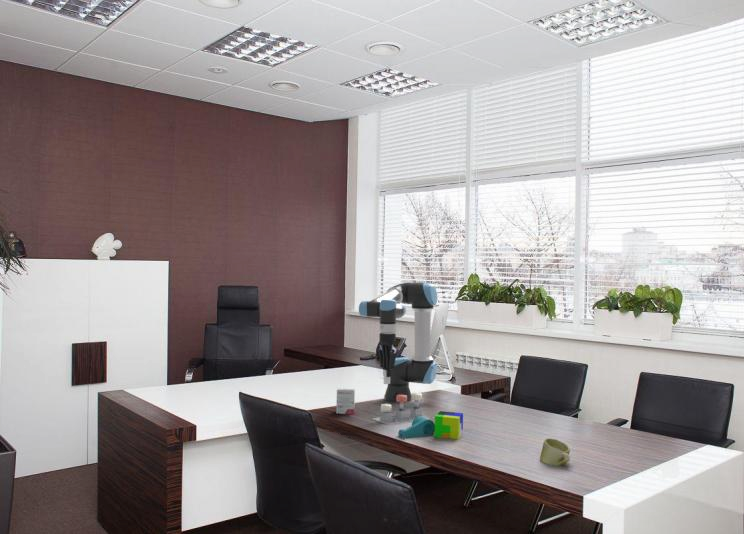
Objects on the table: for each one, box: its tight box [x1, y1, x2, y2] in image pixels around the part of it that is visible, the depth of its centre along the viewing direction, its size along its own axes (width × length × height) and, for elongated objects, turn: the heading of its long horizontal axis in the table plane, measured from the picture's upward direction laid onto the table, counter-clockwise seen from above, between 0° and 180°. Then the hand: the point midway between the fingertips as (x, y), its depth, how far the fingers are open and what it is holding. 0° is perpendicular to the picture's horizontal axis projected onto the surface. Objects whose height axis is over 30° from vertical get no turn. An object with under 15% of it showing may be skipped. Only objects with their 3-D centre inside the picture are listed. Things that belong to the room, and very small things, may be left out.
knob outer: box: [380, 403, 393, 413], centre depth 286 cm, size 5×5×7 cm
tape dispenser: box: [397, 415, 435, 439], centre depth 264 cm, size 7×15×8 cm, turn 117°
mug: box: [539, 437, 571, 466], centre depth 225 cm, size 12×10×10 cm
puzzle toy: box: [434, 410, 464, 440], centre depth 263 cm, size 10×10×10 cm
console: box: [372, 406, 431, 426], centre depth 292 cm, size 24×13×5 cm, turn 125°
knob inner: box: [411, 392, 423, 408], centre depth 297 cm, size 5×5×7 cm
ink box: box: [335, 388, 356, 415], centre depth 304 cm, size 9×5×12 cm, turn 84°
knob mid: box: [396, 395, 408, 410], centre depth 292 cm, size 5×5×7 cm
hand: (386, 383), depth 287 cm, fingers closed
